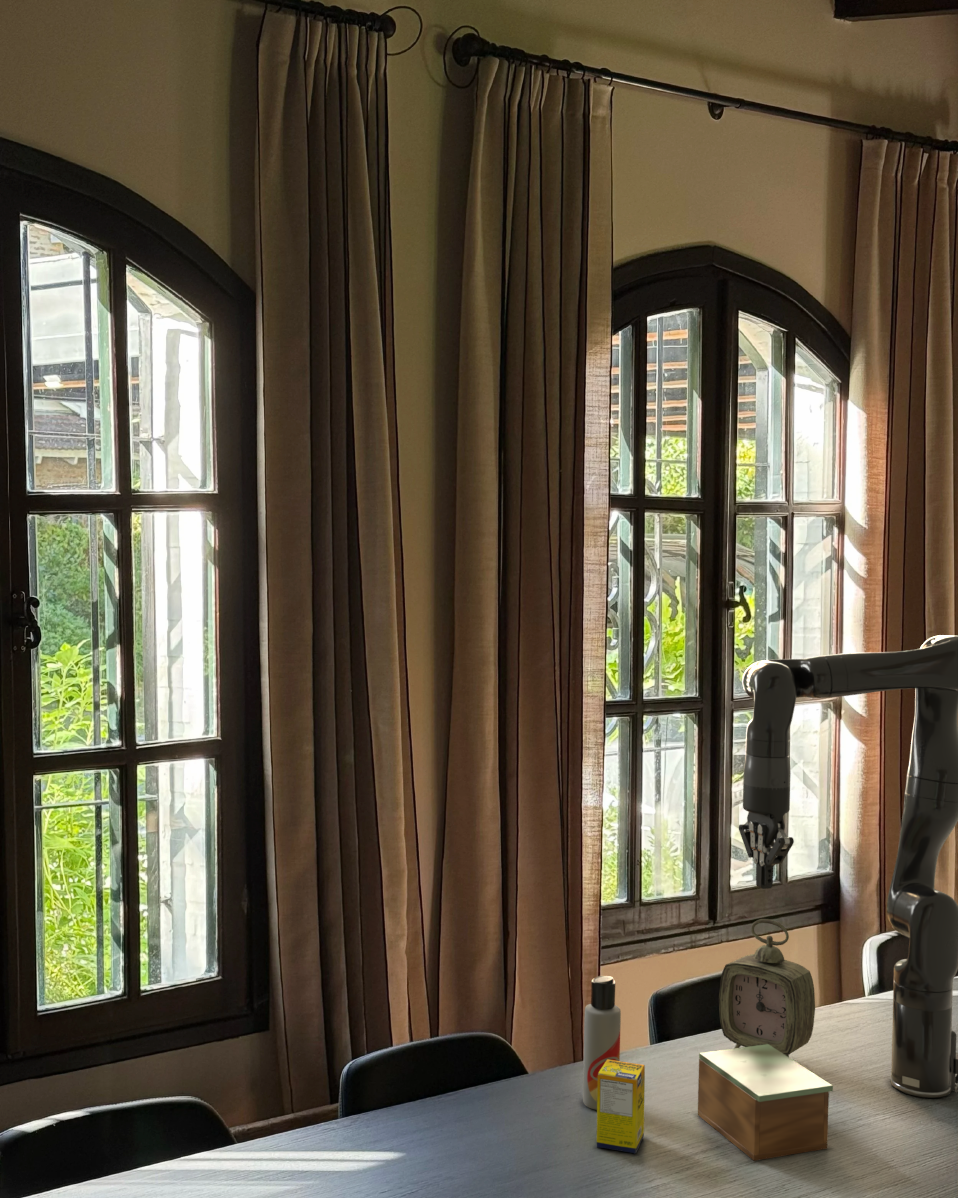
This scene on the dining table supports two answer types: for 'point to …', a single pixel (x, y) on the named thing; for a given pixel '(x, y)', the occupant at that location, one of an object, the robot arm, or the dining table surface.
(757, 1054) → the box lid
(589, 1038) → the lotion bottle
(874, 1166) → the dining table surface
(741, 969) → the tabletop clock
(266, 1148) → the dining table surface
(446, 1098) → the dining table surface
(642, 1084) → the supplement box
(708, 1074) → the box
